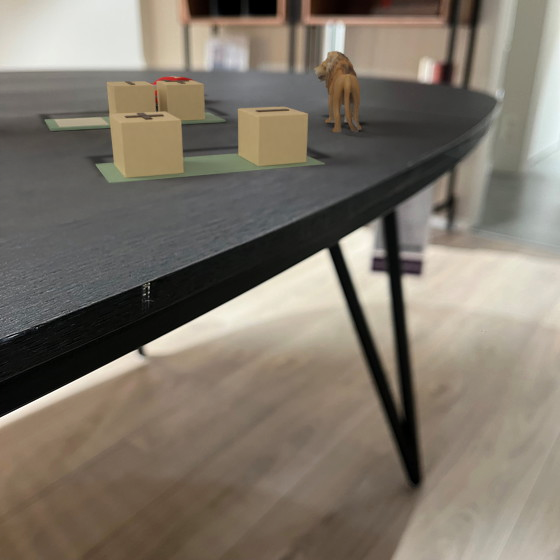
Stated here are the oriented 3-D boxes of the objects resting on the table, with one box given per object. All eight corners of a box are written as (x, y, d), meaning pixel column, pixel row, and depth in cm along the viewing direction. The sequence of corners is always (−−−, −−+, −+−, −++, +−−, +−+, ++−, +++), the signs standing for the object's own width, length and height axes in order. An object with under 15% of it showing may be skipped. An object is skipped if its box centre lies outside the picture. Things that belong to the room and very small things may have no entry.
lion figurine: (309, 118, 81) (312, 49, 77) (346, 118, 82) (350, 50, 78) (336, 137, 68) (341, 56, 64) (379, 137, 69) (386, 57, 65)
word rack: (50, 131, 67) (44, 87, 65) (44, 121, 73) (39, 81, 71) (225, 122, 76) (224, 83, 74) (208, 114, 82) (207, 78, 80)
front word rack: (109, 186, 46) (103, 124, 44) (95, 167, 52) (89, 111, 50) (325, 166, 54) (328, 113, 52) (292, 152, 60) (293, 103, 58)
